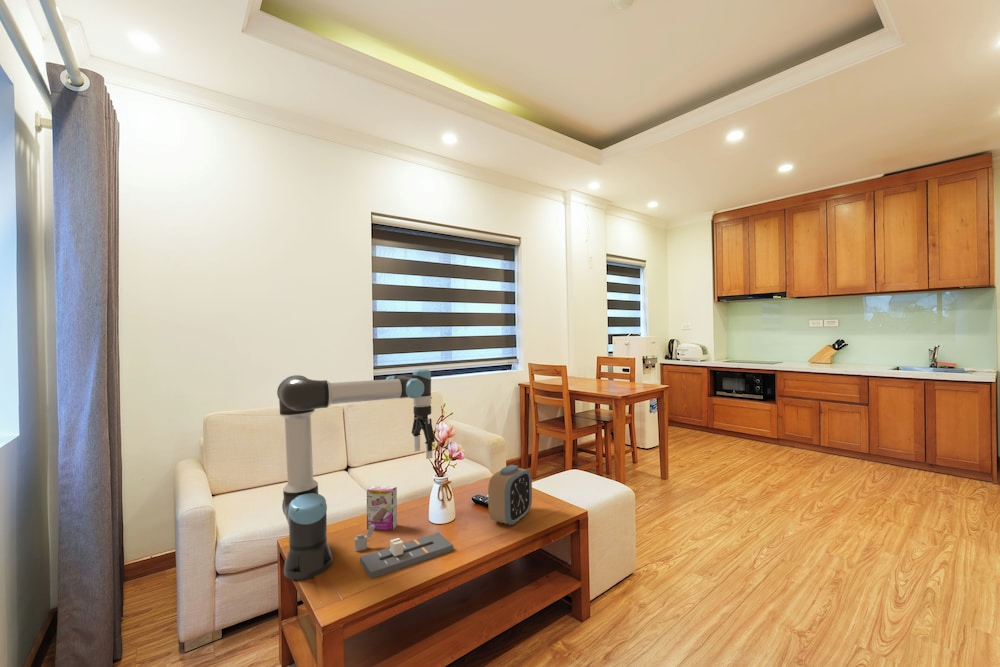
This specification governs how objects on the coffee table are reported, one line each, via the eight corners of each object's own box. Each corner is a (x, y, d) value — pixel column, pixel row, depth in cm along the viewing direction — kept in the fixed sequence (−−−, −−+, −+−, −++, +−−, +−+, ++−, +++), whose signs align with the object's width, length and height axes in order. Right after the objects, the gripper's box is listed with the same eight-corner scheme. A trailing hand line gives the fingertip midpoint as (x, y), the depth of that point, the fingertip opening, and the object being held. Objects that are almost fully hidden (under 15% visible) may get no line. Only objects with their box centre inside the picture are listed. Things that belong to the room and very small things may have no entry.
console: (370, 578, 136) (370, 571, 136) (360, 562, 146) (359, 555, 146) (453, 550, 153) (453, 544, 153) (438, 537, 163) (438, 531, 163)
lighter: (355, 551, 153) (355, 529, 153) (354, 549, 155) (354, 527, 155) (375, 546, 157) (375, 525, 157) (374, 544, 158) (374, 523, 158)
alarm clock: (508, 532, 166) (508, 477, 166) (488, 526, 171) (487, 473, 171) (532, 512, 184) (531, 463, 184) (513, 508, 189) (513, 460, 189)
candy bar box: (366, 530, 170) (365, 489, 170) (371, 524, 175) (370, 485, 175) (393, 531, 169) (392, 490, 169) (397, 525, 174) (397, 485, 174)
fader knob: (394, 562, 144) (394, 544, 144) (390, 556, 148) (389, 539, 148) (403, 559, 146) (403, 541, 146) (398, 553, 150) (398, 537, 150)
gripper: (442, 408, 173) (443, 460, 173) (419, 400, 194) (420, 446, 194) (425, 410, 169) (425, 463, 169) (404, 402, 190) (404, 449, 190)
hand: (422, 454), depth 182 cm, fingers open, 13 cm apart
